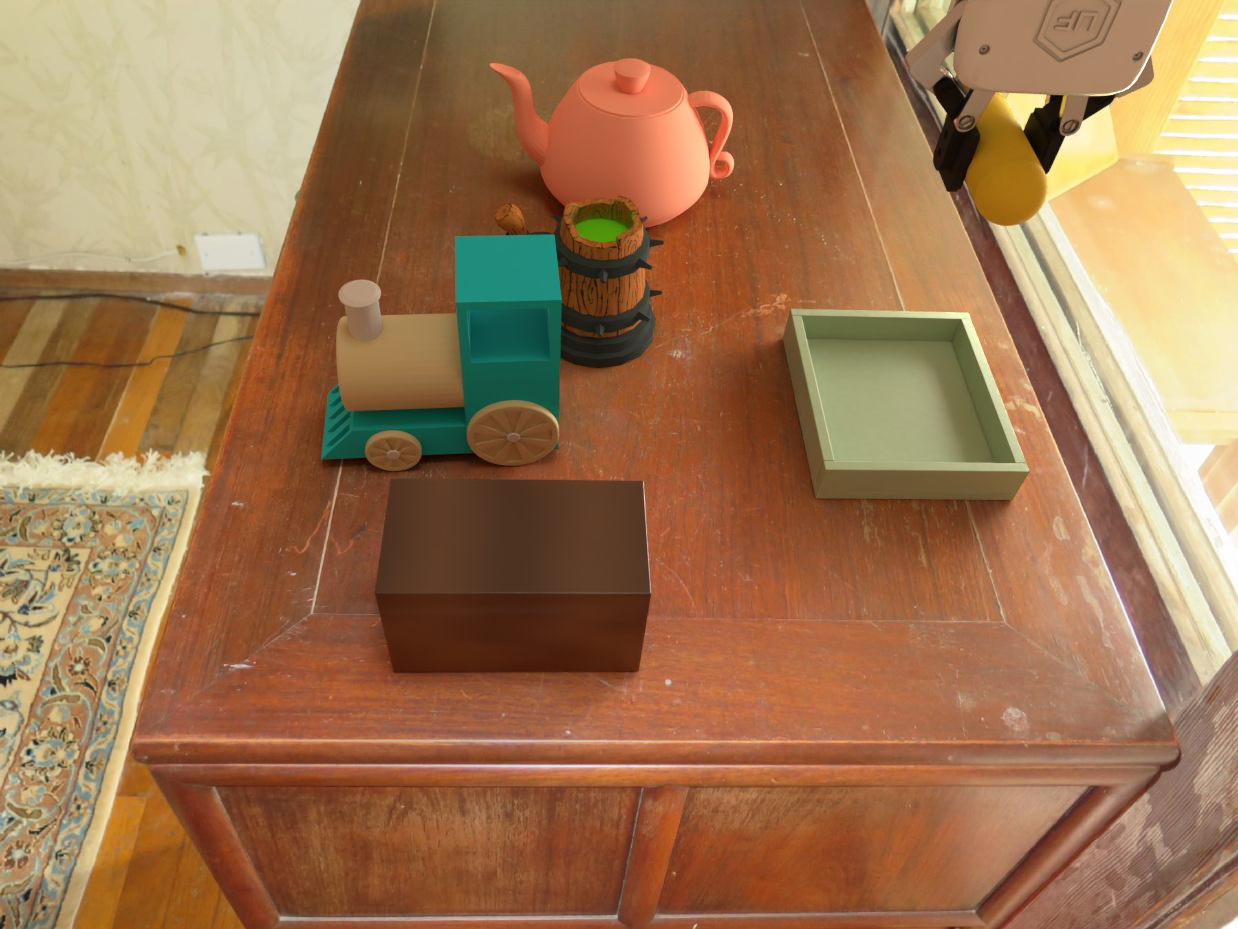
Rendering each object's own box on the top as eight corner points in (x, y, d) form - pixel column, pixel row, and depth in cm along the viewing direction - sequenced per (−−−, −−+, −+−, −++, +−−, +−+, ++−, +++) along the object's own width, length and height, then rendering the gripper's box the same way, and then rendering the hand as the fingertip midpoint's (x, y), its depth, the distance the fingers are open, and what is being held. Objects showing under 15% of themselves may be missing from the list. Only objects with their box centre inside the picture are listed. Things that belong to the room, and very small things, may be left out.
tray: (1012, 500, 72) (1030, 471, 69) (815, 498, 71) (825, 469, 68) (955, 342, 82) (968, 312, 80) (782, 338, 81) (790, 308, 79)
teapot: (490, 237, 87) (483, 109, 78) (499, 138, 97) (494, 13, 88) (736, 246, 89) (760, 121, 79) (721, 147, 99) (740, 25, 89)
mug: (653, 286, 84) (666, 169, 76) (662, 371, 78) (678, 254, 69) (500, 283, 84) (496, 164, 75) (496, 369, 77) (490, 250, 68)
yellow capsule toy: (1040, 241, 57) (1069, 182, 54) (974, 239, 57) (998, 179, 54) (989, 134, 64) (1011, 76, 61) (929, 132, 64) (949, 74, 61)
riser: (633, 564, 66) (643, 480, 59) (638, 672, 61) (651, 594, 54) (406, 563, 65) (390, 477, 58) (393, 672, 60) (374, 593, 53)
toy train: (330, 394, 74) (292, 231, 63) (551, 386, 76) (553, 227, 65) (322, 476, 69) (278, 315, 58) (558, 465, 71) (562, 308, 60)
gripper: (966, -133, 43) (861, 213, 57) (1328, -113, 45) (1137, 222, 59) (926, -194, 48) (838, 140, 62) (1254, -174, 49) (1094, 149, 63)
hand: (985, 177), depth 60 cm, fingers closed on yellow capsule toy, 4 cm apart
